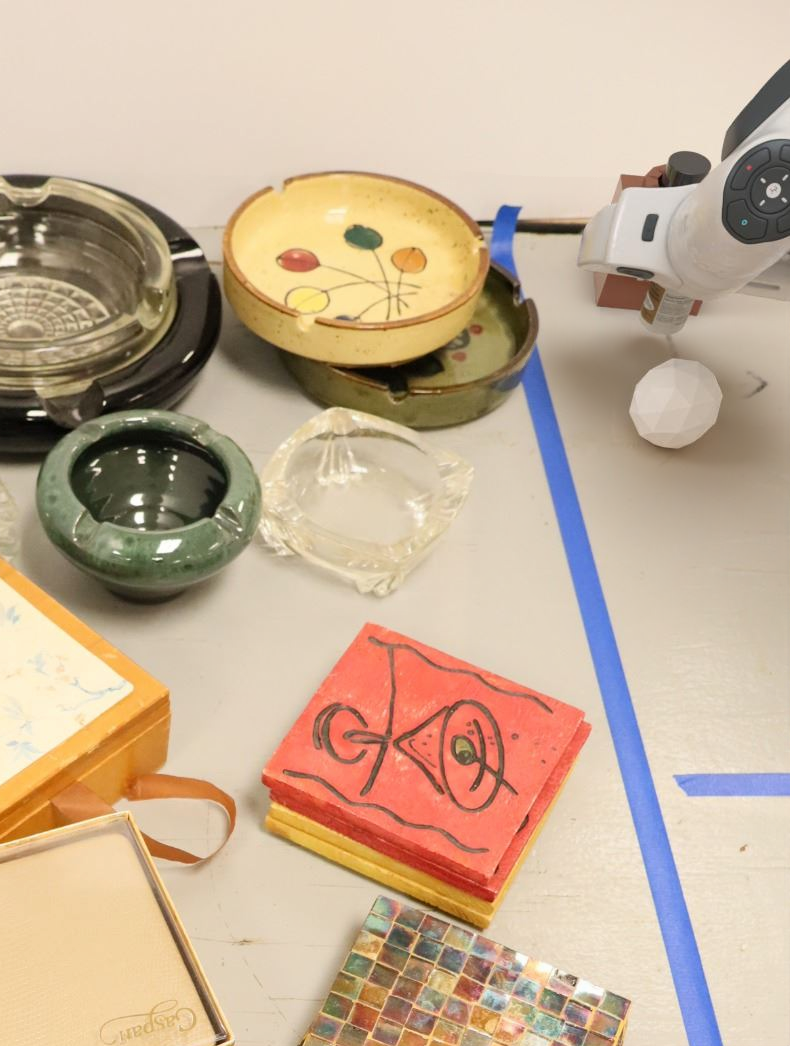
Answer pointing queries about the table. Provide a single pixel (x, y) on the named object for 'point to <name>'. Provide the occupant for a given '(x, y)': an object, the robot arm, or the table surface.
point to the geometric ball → (675, 403)
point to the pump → (685, 169)
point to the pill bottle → (664, 310)
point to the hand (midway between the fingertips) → (676, 277)
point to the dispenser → (623, 288)
